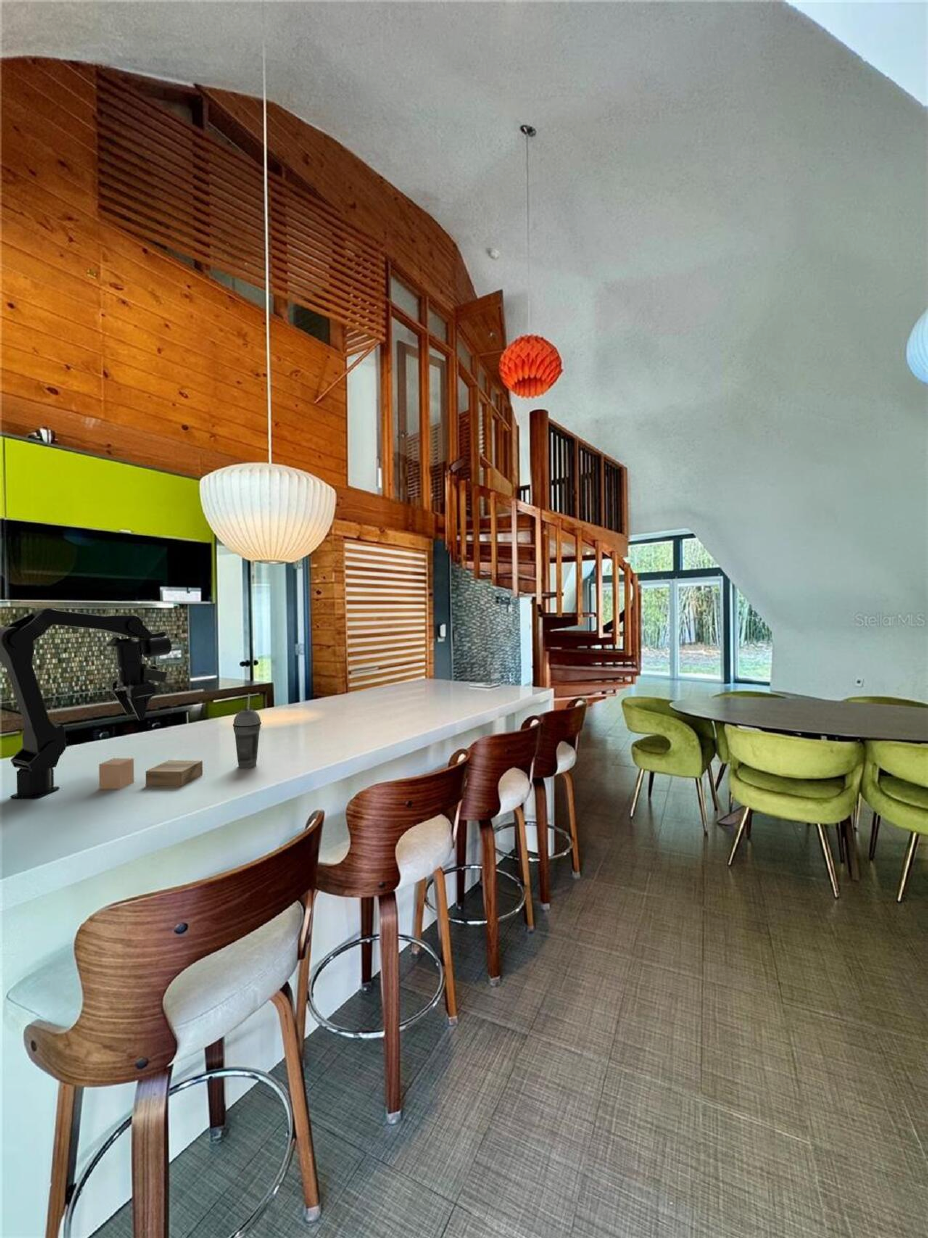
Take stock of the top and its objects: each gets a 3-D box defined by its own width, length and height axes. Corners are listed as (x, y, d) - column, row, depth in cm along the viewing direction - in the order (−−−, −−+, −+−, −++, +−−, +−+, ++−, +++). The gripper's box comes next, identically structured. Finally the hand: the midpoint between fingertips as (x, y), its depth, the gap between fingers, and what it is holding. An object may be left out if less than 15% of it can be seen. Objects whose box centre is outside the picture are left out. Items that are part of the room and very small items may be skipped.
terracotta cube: (120, 789, 122) (119, 764, 122) (99, 789, 122) (99, 764, 122) (133, 782, 127) (133, 758, 127) (114, 782, 127) (113, 758, 127)
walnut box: (181, 788, 124) (181, 771, 124) (145, 787, 124) (145, 771, 124) (202, 776, 133) (202, 760, 133) (168, 775, 133) (168, 760, 133)
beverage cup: (253, 760, 145) (252, 690, 145) (266, 765, 141) (266, 693, 140) (227, 766, 140) (227, 693, 139) (241, 771, 135) (240, 696, 135)
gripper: (175, 659, 138) (181, 715, 139) (150, 654, 150) (155, 705, 151) (128, 665, 129) (134, 725, 131) (105, 659, 141) (111, 714, 143)
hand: (135, 717), depth 139 cm, fingers open, 9 cm apart
